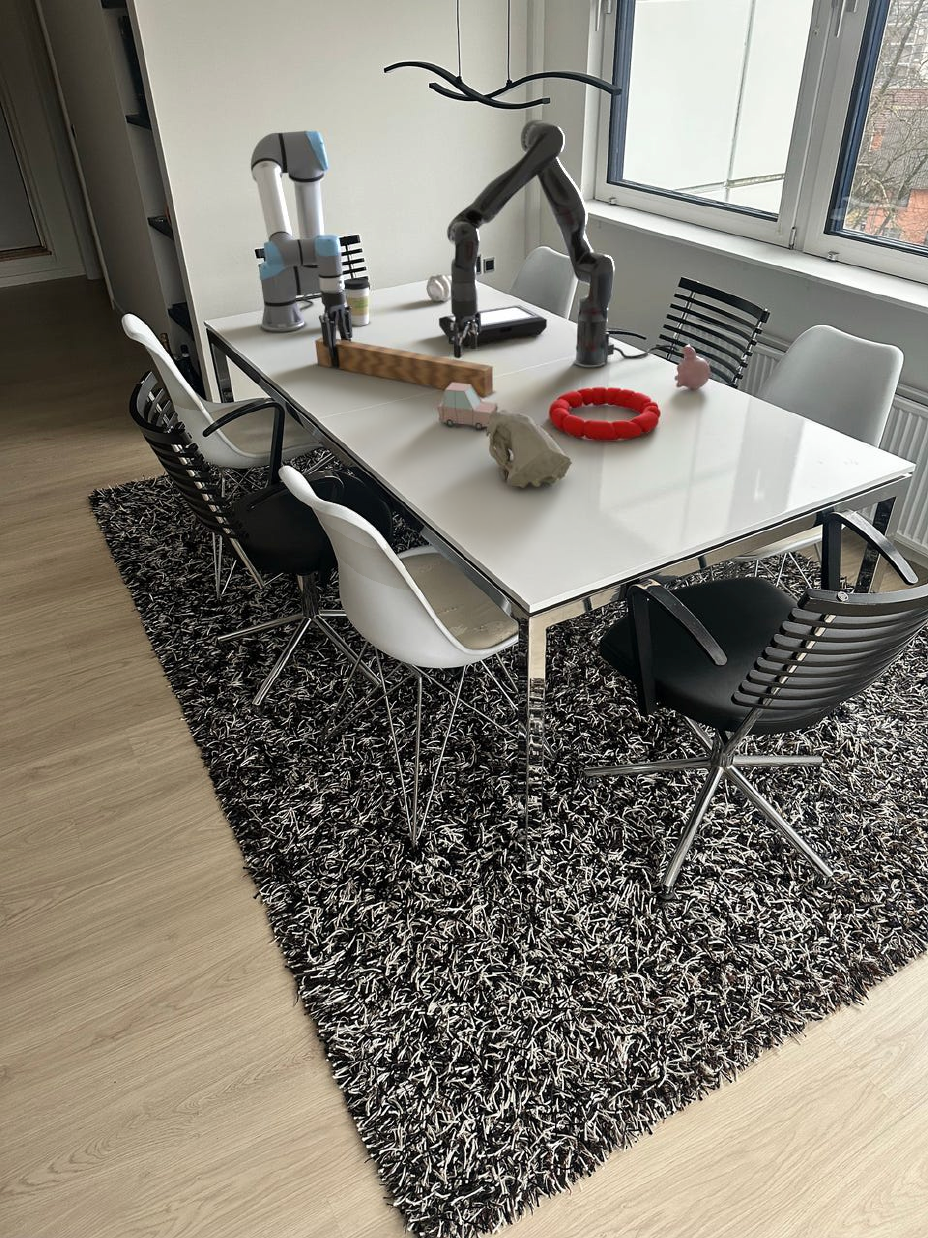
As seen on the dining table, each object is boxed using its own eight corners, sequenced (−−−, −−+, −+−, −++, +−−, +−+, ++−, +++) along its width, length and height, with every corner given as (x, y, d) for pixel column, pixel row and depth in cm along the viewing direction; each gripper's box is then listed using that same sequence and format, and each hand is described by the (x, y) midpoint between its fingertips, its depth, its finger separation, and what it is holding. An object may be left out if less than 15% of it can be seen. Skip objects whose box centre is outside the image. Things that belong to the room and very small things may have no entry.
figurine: (665, 387, 264) (669, 347, 257) (693, 380, 268) (698, 340, 261) (686, 396, 257) (690, 355, 250) (714, 388, 262) (720, 348, 255)
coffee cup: (372, 326, 323) (368, 283, 314) (345, 327, 323) (340, 284, 315) (374, 318, 331) (371, 276, 322) (348, 319, 331) (344, 277, 323)
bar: (318, 364, 291) (315, 340, 286) (326, 360, 294) (323, 336, 289) (485, 397, 262) (484, 370, 258) (492, 392, 265) (492, 365, 261)
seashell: (419, 300, 350) (418, 274, 344) (453, 294, 355) (452, 268, 350) (431, 306, 342) (430, 279, 336) (465, 300, 348) (465, 273, 342)
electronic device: (462, 330, 295) (438, 315, 310) (462, 349, 298) (439, 333, 313) (546, 317, 305) (520, 303, 320) (546, 335, 309) (520, 320, 324)
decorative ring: (589, 435, 224) (684, 402, 234) (527, 398, 247) (617, 369, 256) (589, 461, 229) (683, 427, 238) (529, 422, 251) (617, 393, 260)
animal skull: (496, 517, 219) (521, 479, 201) (463, 429, 225) (484, 384, 207) (557, 503, 225) (586, 465, 206) (523, 417, 231) (549, 373, 212)
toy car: (488, 432, 240) (488, 396, 234) (436, 426, 244) (434, 390, 239) (499, 419, 247) (499, 384, 241) (448, 413, 252) (447, 379, 246)
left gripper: (324, 298, 267) (332, 374, 281) (359, 284, 279) (366, 358, 293) (304, 295, 271) (314, 370, 284) (340, 282, 283) (348, 354, 296)
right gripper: (462, 304, 245) (463, 362, 254) (488, 291, 255) (488, 348, 264) (439, 300, 248) (441, 358, 257) (466, 288, 258) (467, 344, 267)
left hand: (340, 364), depth 288 cm, fingers closed on bar, 5 cm apart
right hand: (465, 353), depth 261 cm, fingers open, 8 cm apart
